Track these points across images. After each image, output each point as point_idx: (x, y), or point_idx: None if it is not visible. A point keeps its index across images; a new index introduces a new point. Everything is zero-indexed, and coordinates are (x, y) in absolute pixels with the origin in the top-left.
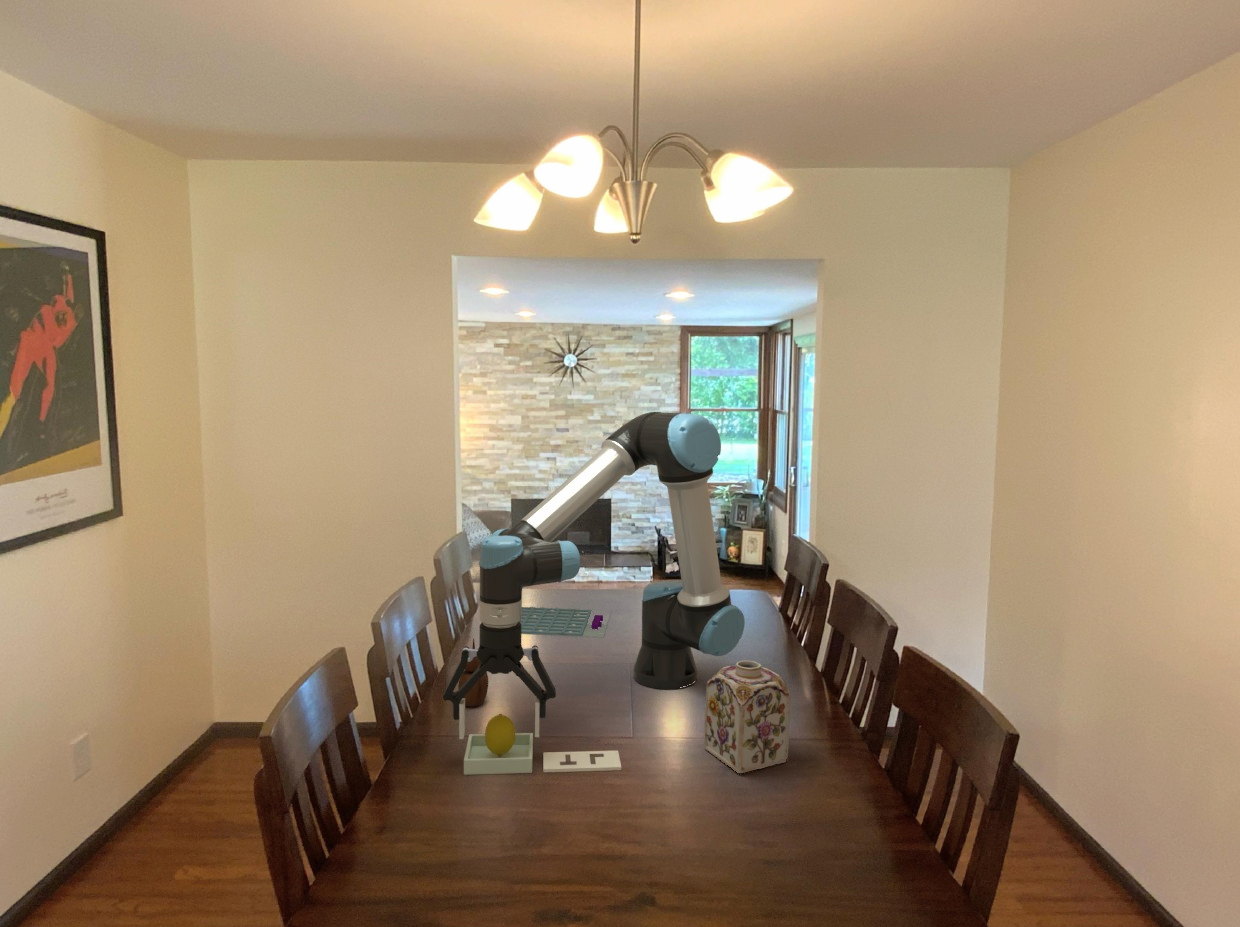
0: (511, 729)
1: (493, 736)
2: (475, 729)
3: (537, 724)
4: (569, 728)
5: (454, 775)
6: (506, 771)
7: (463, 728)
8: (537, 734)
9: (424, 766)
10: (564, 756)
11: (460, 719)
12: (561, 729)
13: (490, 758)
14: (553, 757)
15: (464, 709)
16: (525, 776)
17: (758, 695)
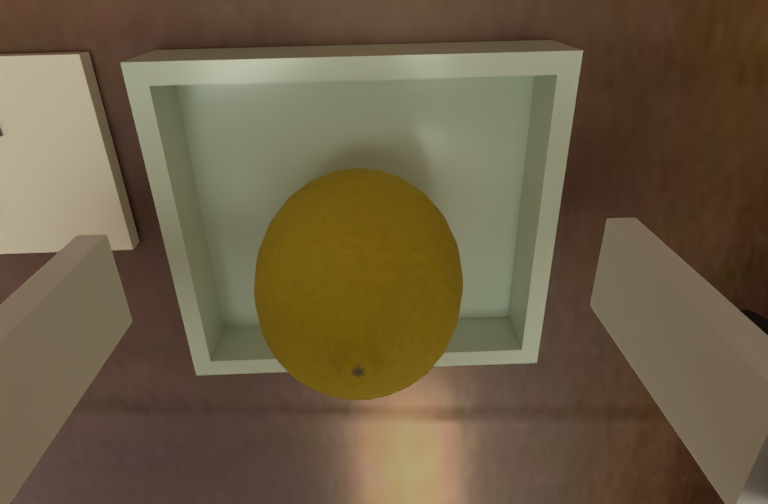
0: (266, 264)
1: (400, 205)
2: (490, 458)
3: (37, 285)
4: (83, 466)
5: (603, 34)
6: (305, 48)
7: (643, 254)
8: (79, 245)
9: (751, 144)
10: (1, 205)
11: (709, 295)
12: (116, 459)
13: (406, 76)
14: (60, 195)
15: (695, 398)
16: (186, 5)
17: None
